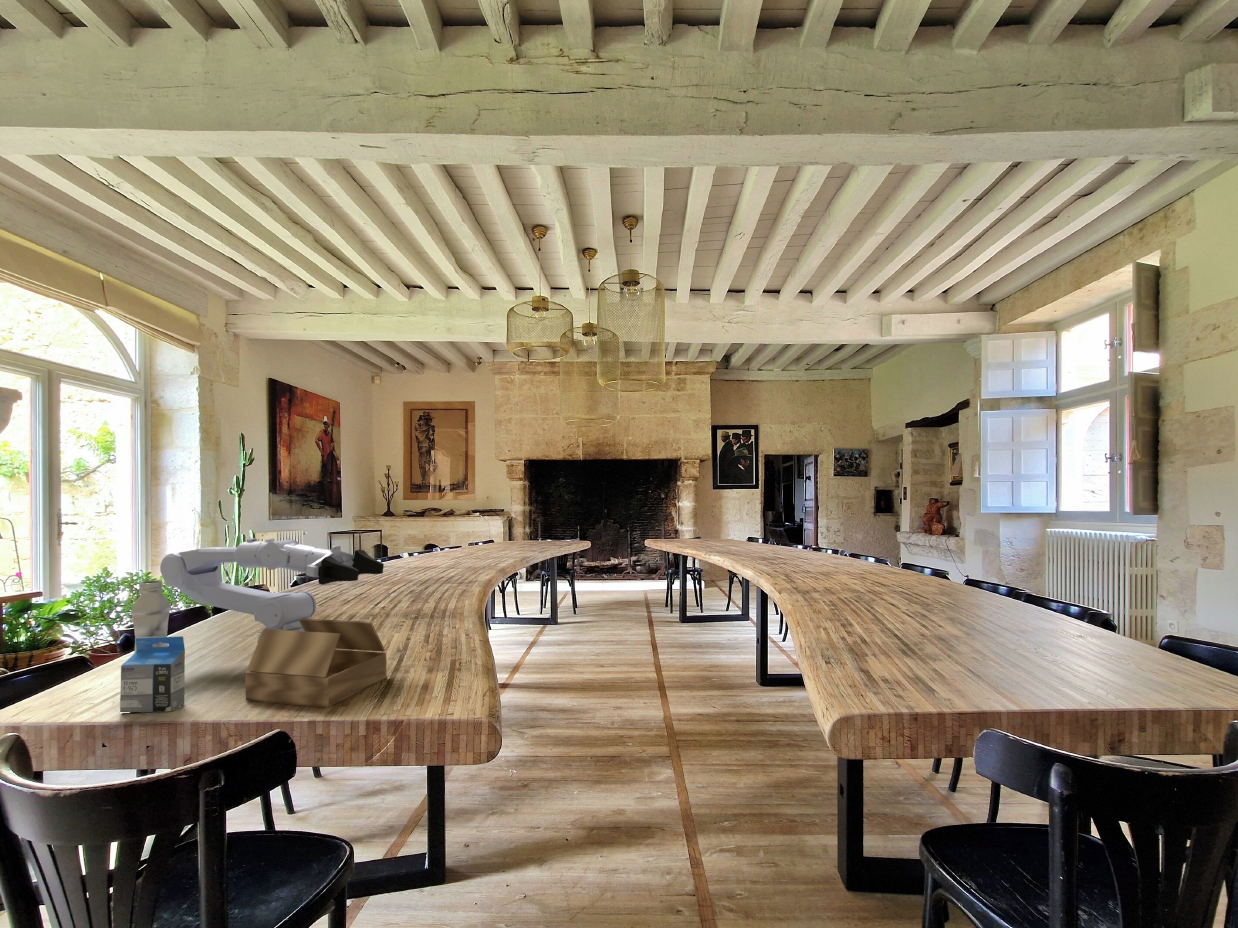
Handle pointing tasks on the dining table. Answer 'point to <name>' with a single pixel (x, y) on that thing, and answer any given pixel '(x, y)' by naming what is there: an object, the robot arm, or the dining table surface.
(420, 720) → the dining table surface
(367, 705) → the dining table surface
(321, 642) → the flap near
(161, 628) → the plastic bottle
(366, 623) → the flap far
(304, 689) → the carton
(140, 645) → the label tape box
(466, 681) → the dining table surface
